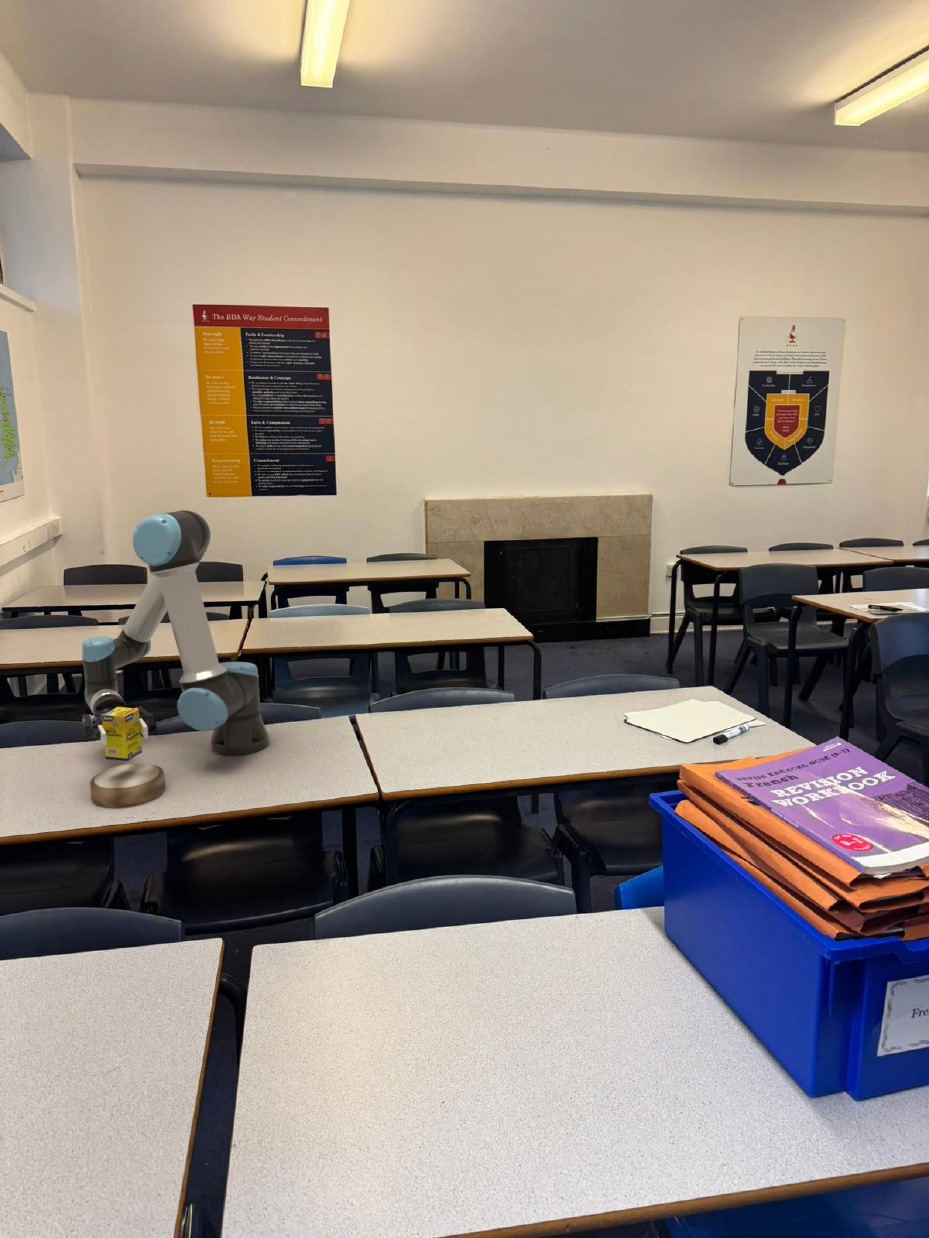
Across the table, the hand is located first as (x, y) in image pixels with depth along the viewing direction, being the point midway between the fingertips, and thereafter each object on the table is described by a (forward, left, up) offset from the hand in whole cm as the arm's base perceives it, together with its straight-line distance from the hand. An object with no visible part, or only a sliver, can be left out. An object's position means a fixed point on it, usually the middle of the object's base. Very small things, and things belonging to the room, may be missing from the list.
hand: (125, 735), depth 183 cm
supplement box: (+2, -4, -7) cm, 8 cm away
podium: (+1, -4, -16) cm, 16 cm away
